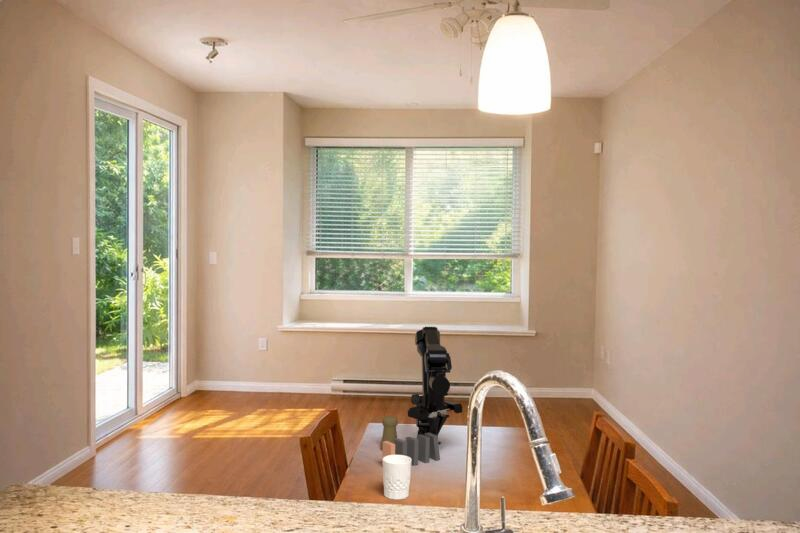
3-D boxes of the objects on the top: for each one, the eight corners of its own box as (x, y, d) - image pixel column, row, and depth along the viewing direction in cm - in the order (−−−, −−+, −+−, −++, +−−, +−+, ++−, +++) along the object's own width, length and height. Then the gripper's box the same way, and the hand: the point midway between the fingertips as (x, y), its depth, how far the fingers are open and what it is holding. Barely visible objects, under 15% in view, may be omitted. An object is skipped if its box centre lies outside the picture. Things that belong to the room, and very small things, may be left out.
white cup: (400, 502, 180) (401, 465, 179) (376, 496, 184) (377, 460, 183) (416, 494, 186) (416, 458, 186) (392, 488, 190) (392, 452, 190)
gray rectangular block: (431, 455, 220) (428, 432, 219) (440, 459, 216) (437, 435, 215) (427, 457, 219) (424, 433, 218) (436, 460, 215) (433, 437, 214)
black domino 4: (398, 463, 212) (398, 438, 211) (406, 467, 208) (407, 441, 208) (393, 464, 211) (394, 439, 210) (402, 468, 207) (402, 442, 207)
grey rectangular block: (409, 461, 214) (409, 436, 214) (418, 465, 211) (418, 439, 211) (405, 462, 213) (405, 437, 213) (413, 466, 210) (414, 440, 210)
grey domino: (420, 458, 217) (421, 434, 217) (429, 462, 214) (429, 437, 213) (416, 459, 216) (417, 434, 216) (425, 463, 213) (425, 438, 212)
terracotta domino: (386, 466, 209) (386, 440, 209) (394, 470, 205) (395, 444, 205) (382, 467, 208) (382, 441, 208) (390, 471, 204) (391, 445, 204)
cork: (399, 447, 229) (400, 414, 229) (397, 452, 223) (398, 419, 223) (381, 446, 230) (382, 414, 230) (379, 451, 224) (380, 418, 224)
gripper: (441, 381, 229) (440, 427, 229) (397, 387, 218) (396, 435, 218) (464, 386, 220) (463, 434, 221) (419, 393, 209) (418, 443, 209)
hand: (435, 436), depth 217 cm, fingers closed
